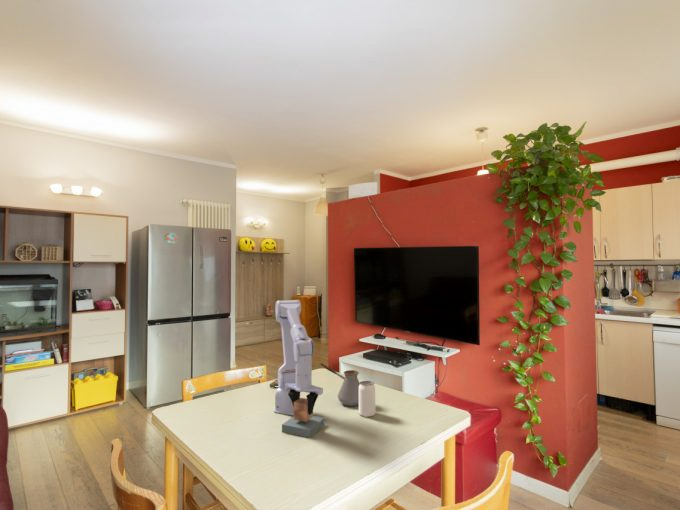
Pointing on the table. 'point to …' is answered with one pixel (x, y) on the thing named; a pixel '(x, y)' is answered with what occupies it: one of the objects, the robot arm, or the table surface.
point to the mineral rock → (274, 383)
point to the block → (301, 410)
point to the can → (367, 399)
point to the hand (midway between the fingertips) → (303, 412)
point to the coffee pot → (348, 387)
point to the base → (303, 426)
